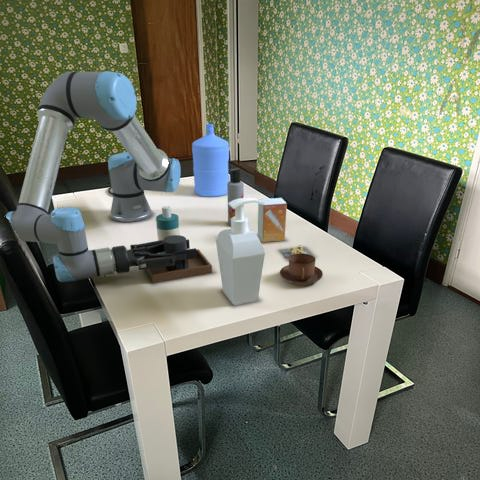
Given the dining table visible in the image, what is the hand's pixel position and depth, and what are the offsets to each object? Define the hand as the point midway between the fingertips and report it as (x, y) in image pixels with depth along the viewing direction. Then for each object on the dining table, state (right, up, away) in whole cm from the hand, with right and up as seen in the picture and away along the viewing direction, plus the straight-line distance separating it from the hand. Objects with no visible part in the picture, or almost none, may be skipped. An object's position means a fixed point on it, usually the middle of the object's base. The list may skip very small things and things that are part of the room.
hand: (192, 248), depth 136 cm
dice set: (+32, 0, +11) cm, 34 cm away
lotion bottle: (+12, +14, +34) cm, 39 cm away
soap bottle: (+15, -15, -12) cm, 24 cm away
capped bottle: (-8, 0, +12) cm, 14 cm away
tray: (-5, -6, +2) cm, 8 cm away
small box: (+25, +7, +22) cm, 34 cm away
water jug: (+2, +36, +69) cm, 78 cm away
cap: (-5, -6, +1) cm, 7 cm away
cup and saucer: (+31, -9, -4) cm, 33 cm away
